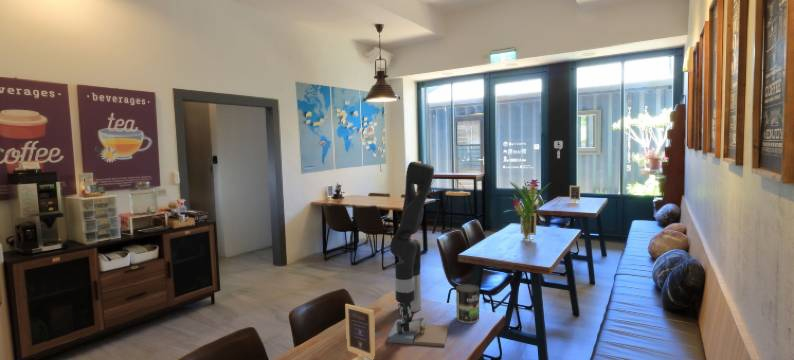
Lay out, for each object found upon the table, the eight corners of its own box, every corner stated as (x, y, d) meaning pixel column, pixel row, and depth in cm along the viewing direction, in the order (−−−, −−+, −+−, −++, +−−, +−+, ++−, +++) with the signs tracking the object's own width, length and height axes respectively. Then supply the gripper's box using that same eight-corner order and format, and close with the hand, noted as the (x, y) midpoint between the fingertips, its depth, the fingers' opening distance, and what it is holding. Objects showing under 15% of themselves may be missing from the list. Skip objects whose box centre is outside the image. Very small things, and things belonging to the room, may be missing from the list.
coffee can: (484, 320, 185) (484, 289, 184) (465, 325, 180) (465, 293, 179) (470, 311, 194) (469, 282, 193) (451, 316, 190) (451, 286, 188)
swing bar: (424, 326, 174) (424, 317, 174) (427, 330, 171) (426, 320, 171) (396, 331, 171) (396, 321, 171) (398, 334, 168) (398, 324, 167)
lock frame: (396, 324, 183) (396, 313, 182) (448, 328, 178) (448, 316, 178) (388, 342, 167) (387, 330, 167) (444, 346, 163) (444, 334, 162)
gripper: (391, 284, 171) (392, 325, 172) (400, 295, 158) (402, 339, 160) (408, 282, 173) (409, 322, 174) (419, 292, 160) (420, 336, 162)
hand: (406, 330), depth 167 cm, fingers closed
